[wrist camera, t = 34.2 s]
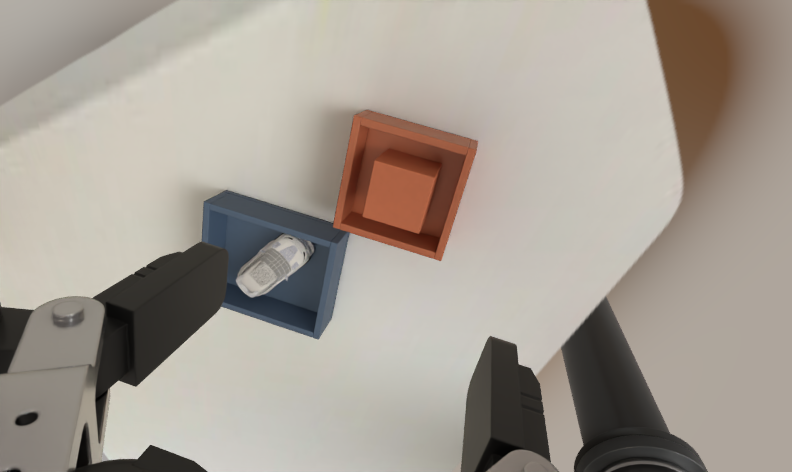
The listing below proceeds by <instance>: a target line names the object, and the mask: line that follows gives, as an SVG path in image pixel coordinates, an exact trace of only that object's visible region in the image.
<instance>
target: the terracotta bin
mask: <svg viewBox="0 0 792 472" xmlns="http://www.w3.org/2000/svg"><path fill="white" fill-rule="evenodd" d="M477 145H478V141H476V140H472V139H469V138H465V137H461V136H458V135H454V134H451V133H447V132H444V131H440V130H437V129H433V128H430V127H426V126H423V125H419V124H415V123H412V122H408V121H405V120H401V119H398V118H394V117H391V116H387V115H384V114H380V113H377V112H373V111H370V110H365V111H363V112H361V113H358V114H356V115H354V118H353V123H352V129H351V134H350V139H349V144H348V149H347V155H346V160H345V165H344V170H343V176H342V181H341V186H340V191H339V197H338V202H337V207H336V212H335V218H334V223H333V227H334V228H337V229H340V230H343V231H346V232H350V233H353V234H356V235H359V236H362V237H366V238H369V239H372V240H375V241H378V242H382V243H385V244H388V245H391V246H394V247H398V248H401V249H404V250H407V251H410V252H414V253H417V254H420V255H423V256H427V257H430V258H434V259H436V260H439V261H441V260H442V256H443V253H444V250H445V247H446V244H447V241H448V238H449V235H450V232H451V228H452V225H453V222H454V219H455V216H456V213H457V210H458V207H459V204H460V200H461V197H462V194H463V191H464V188H465V185H466V182H467V179H468V176H469V173H470V169H471V166H472V163H473V160H474V157H475V154H476V151H477ZM388 148H390V149H393V150H396V151H400V152H403V153H407V154H410V155H414V156H417V157H421V158H424V159H428V160H431V161H435V162H438V163H441V164H442V165H441V169H440V172H439V176H438V179H437V183H436V186H435V189H434V193H433V196H432V200H431V203H430V207H429V210H428V214H427V216H426V218H425V221H424V223H423V226H422V228H421V230H420V233H419V234H418V233H414V232H411V231H408V230H404V229H401V228H398V227H395V226H391V225H388V224H385V223H382V222H378V221H375V220H372V219H369V218H365V217H363V216H362V215H363V210H364V206H365V201H366V197H367V192H368V188H369V183H370V178H371V174H372V169H373V165H374V161H375V160H376V159H377V158H378V157H379V156H380V155H381V154H383V153H384V152H385V151H386V150H387V149H388Z"/></svg>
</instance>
